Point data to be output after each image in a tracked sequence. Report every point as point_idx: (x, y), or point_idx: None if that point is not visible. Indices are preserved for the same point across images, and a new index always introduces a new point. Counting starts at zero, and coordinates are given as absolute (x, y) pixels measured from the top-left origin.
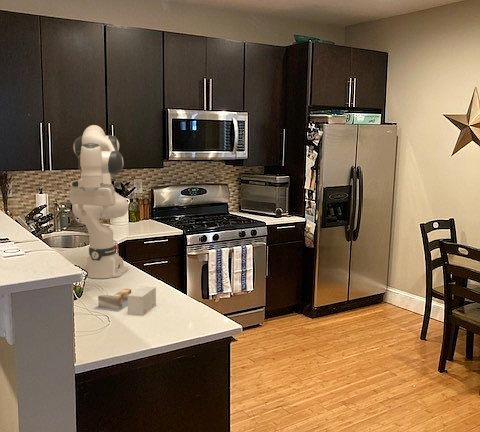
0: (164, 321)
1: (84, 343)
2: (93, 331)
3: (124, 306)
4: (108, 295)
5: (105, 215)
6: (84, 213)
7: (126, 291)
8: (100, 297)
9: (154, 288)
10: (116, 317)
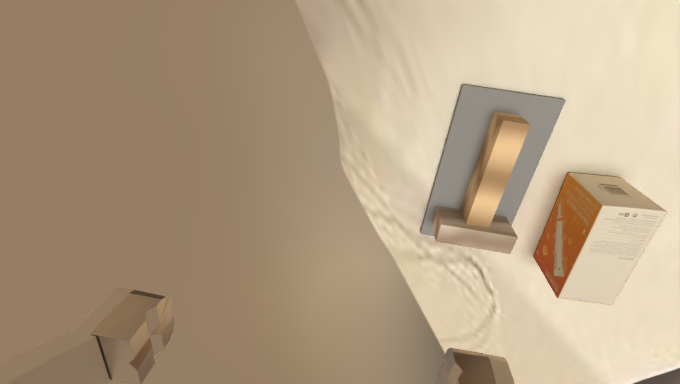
0: (645, 282)
1: None
2: (469, 340)
3: (512, 206)
4: (468, 232)
5: (506, 364)
6: (155, 334)
7: (516, 155)
8: (443, 240)
9: (660, 222)
10: (502, 270)
